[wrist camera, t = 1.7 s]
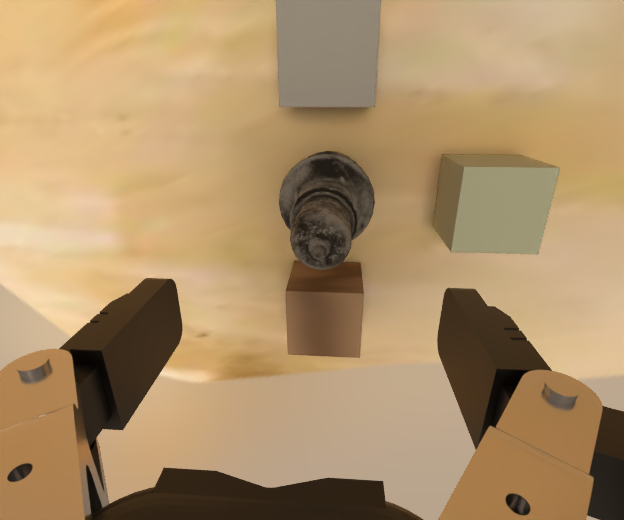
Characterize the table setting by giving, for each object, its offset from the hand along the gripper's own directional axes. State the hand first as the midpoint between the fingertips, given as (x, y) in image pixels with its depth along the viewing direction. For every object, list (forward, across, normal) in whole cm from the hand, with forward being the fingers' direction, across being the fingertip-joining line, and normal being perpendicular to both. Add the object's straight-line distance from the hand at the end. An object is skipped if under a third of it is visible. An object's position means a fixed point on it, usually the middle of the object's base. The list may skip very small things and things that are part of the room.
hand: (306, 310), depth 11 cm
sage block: (+17, -10, 0) cm, 19 cm away
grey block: (+17, 0, -8) cm, 18 cm away
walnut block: (+17, 0, +8) cm, 18 cm away
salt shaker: (+17, 0, 0) cm, 17 cm away
